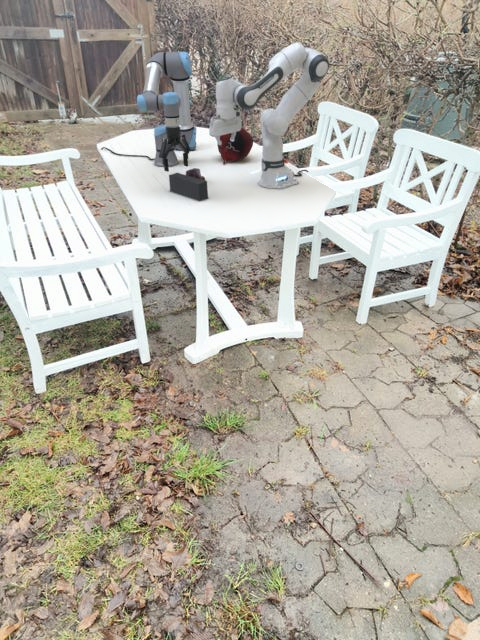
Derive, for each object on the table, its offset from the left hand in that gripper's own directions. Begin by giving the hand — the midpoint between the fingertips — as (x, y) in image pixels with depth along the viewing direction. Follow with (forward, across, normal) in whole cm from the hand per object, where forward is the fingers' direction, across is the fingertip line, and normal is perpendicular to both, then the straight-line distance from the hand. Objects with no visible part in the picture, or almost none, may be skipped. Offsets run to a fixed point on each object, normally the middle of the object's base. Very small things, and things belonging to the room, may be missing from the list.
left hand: (176, 168), depth 242 cm
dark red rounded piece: (+12, +68, +21) cm, 73 cm away
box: (+13, 0, -8) cm, 15 cm away
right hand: (-14, +16, -22) cm, 30 cm away
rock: (+12, +16, +4) cm, 21 cm away
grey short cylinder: (+12, +66, +69) cm, 96 cm away
